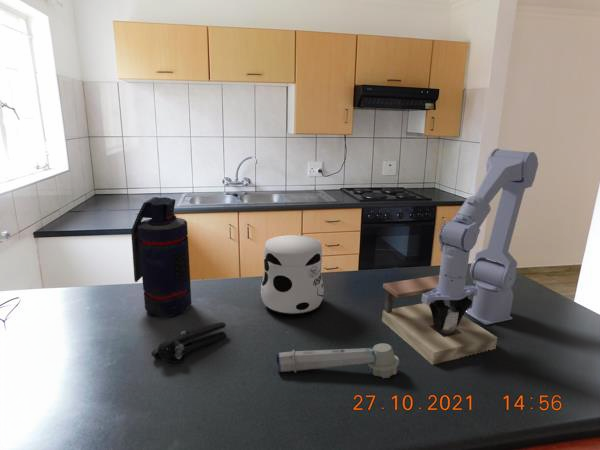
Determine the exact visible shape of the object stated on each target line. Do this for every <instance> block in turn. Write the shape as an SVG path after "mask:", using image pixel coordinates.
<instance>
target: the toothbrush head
mask: <svg viewBox="0 0 600 450" xmlns="http://www.w3.org/2000/svg"><path fill="white" fill-rule="evenodd" d="M365 364H368V367H369V368H370V369H369V370H370V373H371V375H374V376H375V377H381V378H382V379H387V378H388V379H389V378H390V377H391V376H393V375H394V376H396V374H397V373H398V366H399V364H400V359H399V357H398V356H397V355H395V354H394V349H393V347H392V345H391V344H389V343H384V342H383V343H382V342H381V343H377V344H375V345H373V347H362V348H343V349H342V348H339V349H319V350H318V349H317V350H295V349H292V351H283V352H277V353H276V367H277V372H278V373H285V372H286V373H288V372H293V373H295V374H296V373H297V372H298V371H300V372H301V371H308V370H317V369H318V370H319V369H326V368H336V367H338V368H339V367H345V366H355V365H365Z"/></svg>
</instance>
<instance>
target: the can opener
mask: <svg viewBox="0 0 600 450" xmlns="http://www.w3.org/2000/svg"><path fill="white" fill-rule="evenodd" d="M226 326H227V324H226V323H225V322H222V321H221V322H215V323H212V324H207V325H203V326H200V327H195V328H193V329H190V330H188V331H186V330H183V331H181V332H180V334H177V335H175V336H173V337H170V338H168V339H166V340H164V341H162V342H161V343H158V345H157V347H156V348H154V349H153V350H152V351H151V353H150V354H151V356H152V357H153V358H154V359H155V360H158V361H159V360H160V361H162V360H163V361H165V362H167V363H173V364H177V363H181V362H183V360H185V358H186V356H187V355H188V353H190V352H191V351H192V350H194V349H197V348H200V347H204V346H206V345H210V344H214V343H216V342H218V341H220V340H223V339H224V338H225V337H226V336H227V333H226V332H225V331H220V332H216V331H218V330H221V329H224V328H225V327H226ZM214 332H215V333H214ZM211 333H212V334H211ZM207 334H209V335H207ZM205 335H206V336H205ZM202 336H203V337H202ZM184 343H185V344H184Z"/></svg>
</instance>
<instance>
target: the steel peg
mask: <svg viewBox="0 0 600 450" xmlns="http://www.w3.org/2000/svg"><path fill="white" fill-rule="evenodd" d="M447 306H448V307H450V309H449V310H448V312H447V314H446V316H445V320H444V325H443V329H442V330H440V331H439V330H437V332H438V333H439V334H440V335H442V336H443V337H447V336H451V335H455V332H456V326H457V320H458V314H459V310H458V309H457V308H455V307H452V306H450V305H447Z"/></svg>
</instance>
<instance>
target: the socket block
mask: <svg viewBox="0 0 600 450" xmlns="http://www.w3.org/2000/svg"><path fill="white" fill-rule="evenodd" d="M439 275H440V274H438V275H430V276H425V277H417V278H411V279H406V280H405V279H404V280H398V281H392V282H386V283H383V284H382V288H383V289H384V290H385V296H384V297H385V298H384V306H383V307H384V308H383V310H382V315H381V316H382V317H381V321H382V323H383V324H385V325H386V326H387V327H389V329H391V330H392V331H393V332H394V333H395V334H396V335H398V336H399V337H400V339H402V340H403V341H405V342H406V343H407V344H408V345H409V346H410V347H411V348H412V349H414V350H415V351H416V352H417V353H418V354H419V355H421V356H422V358H424V359H425V360H426V361H427V362H429V363H430V364H431V366H433V365H437V364H440V363H445V362H449V361H453V360H457V359H461V357H462V358H465V356H466V357H469V355H470V356H473V354H474V355H477V353H478V354H481V352H482V353H485V351H486V352H489V351H488V350H490V351H493V349H494V350H496V347H497V343H498V337H497V336H496V335H495V334H493V333H491V332H489V331H488V330H486V329H485V328H483V327H482V326H480V325H479V324H477V323H475V322H474V321H472V320H471V319H469V318H468V317H466V316H465V315H463V316H462V318H461V320H460V322H459V324H458V326H457V327H456V332H455V335H451V336H447V337H443V336H442V335H440V334H439V333H438V332H437V330H438V329H437V328H435V327H434V322H433V316H432V312H431V309H430V307H429V305H426V304H424V303H423V302H422V303H418V304H412V305H405V306H401V307H400V306H399V307H395V308H393V303H394V297H395V298H397V299H400V298H405V297H413V296H417V295H422V294H424V293H427V292H430V291H432V290H434V289H436V285H438V282H439ZM445 305H447V304H446V303H445Z"/></svg>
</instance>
